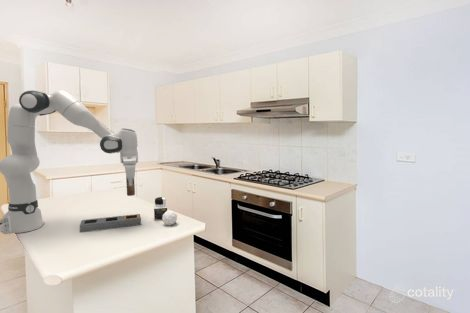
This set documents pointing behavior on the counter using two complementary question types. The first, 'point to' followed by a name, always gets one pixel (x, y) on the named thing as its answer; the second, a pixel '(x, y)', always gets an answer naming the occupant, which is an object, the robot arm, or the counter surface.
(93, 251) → the counter surface
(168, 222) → the ball
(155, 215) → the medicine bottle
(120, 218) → the rectangular metal frame
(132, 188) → the walnut peg
